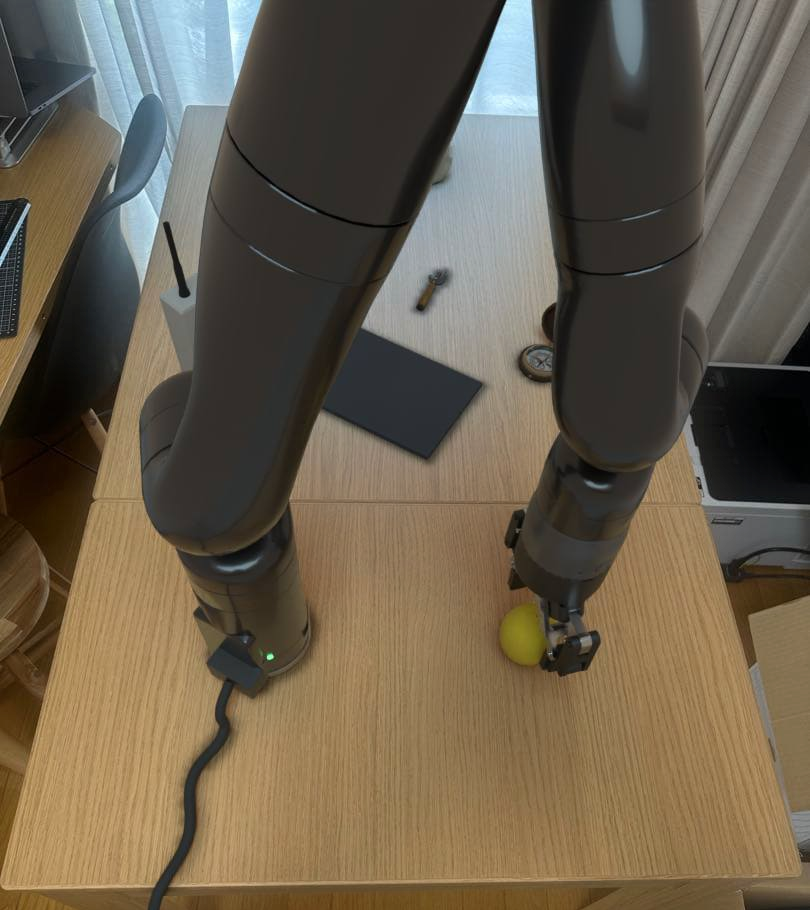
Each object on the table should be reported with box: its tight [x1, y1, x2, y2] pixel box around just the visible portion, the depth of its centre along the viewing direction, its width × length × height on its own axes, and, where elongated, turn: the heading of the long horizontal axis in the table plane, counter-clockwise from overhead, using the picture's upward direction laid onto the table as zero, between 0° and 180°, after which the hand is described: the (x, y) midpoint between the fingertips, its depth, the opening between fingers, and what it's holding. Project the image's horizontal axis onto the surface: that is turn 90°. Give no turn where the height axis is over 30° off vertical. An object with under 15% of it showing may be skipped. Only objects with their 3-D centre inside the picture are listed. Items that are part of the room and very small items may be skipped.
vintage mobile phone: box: [159, 220, 198, 372], centre depth 79 cm, size 4×5×25 cm
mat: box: [321, 327, 483, 461], centre depth 92 cm, size 14×22×1 cm, turn 60°
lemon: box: [499, 602, 559, 666], centre depth 71 cm, size 6×6×8 cm
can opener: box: [415, 268, 448, 312], centre depth 102 cm, size 9×2×1 cm, turn 153°
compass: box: [518, 301, 557, 382], centre depth 93 cm, size 8×8×7 cm
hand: (534, 624), depth 70 cm, fingers open, 8 cm apart
